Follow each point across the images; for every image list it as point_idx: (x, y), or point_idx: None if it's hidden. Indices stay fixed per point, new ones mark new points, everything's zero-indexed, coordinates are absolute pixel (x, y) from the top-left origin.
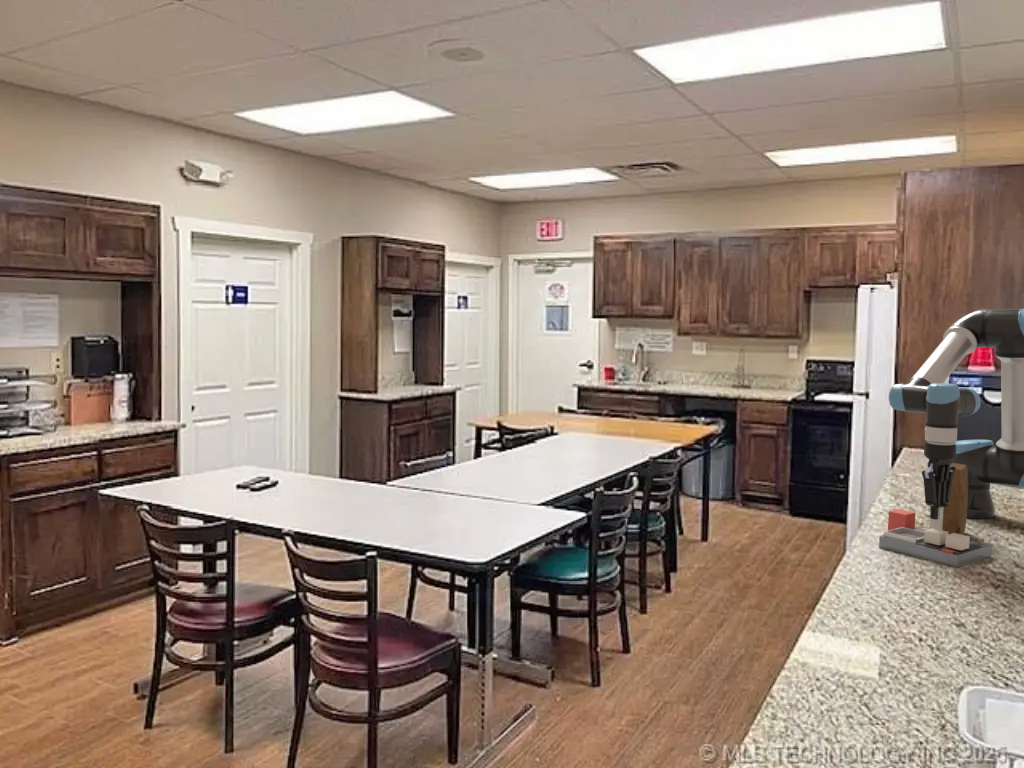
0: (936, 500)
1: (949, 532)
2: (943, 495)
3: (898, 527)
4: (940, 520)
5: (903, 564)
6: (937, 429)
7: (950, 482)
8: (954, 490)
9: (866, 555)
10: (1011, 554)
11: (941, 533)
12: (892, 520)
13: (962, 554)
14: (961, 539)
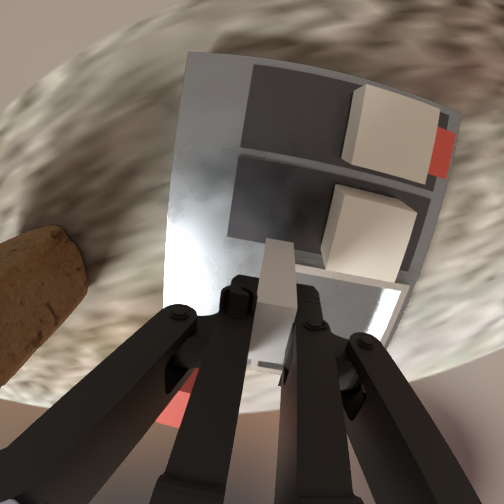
0: (364, 359)
1: (75, 255)
2: (246, 364)
3: None
4: (288, 266)
5: (497, 250)
6: None
7: (84, 418)
8: None
9: (461, 343)
10: (122, 38)
11: (406, 209)
12: None
13: (432, 101)
14: (438, 109)
